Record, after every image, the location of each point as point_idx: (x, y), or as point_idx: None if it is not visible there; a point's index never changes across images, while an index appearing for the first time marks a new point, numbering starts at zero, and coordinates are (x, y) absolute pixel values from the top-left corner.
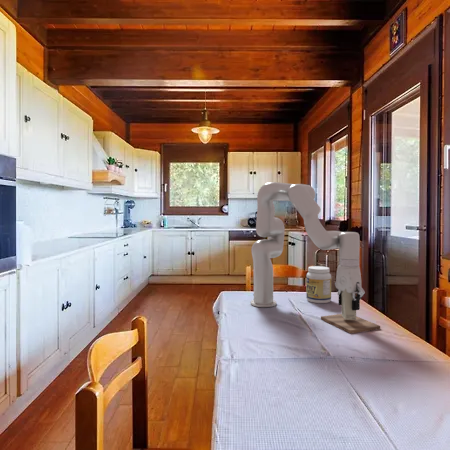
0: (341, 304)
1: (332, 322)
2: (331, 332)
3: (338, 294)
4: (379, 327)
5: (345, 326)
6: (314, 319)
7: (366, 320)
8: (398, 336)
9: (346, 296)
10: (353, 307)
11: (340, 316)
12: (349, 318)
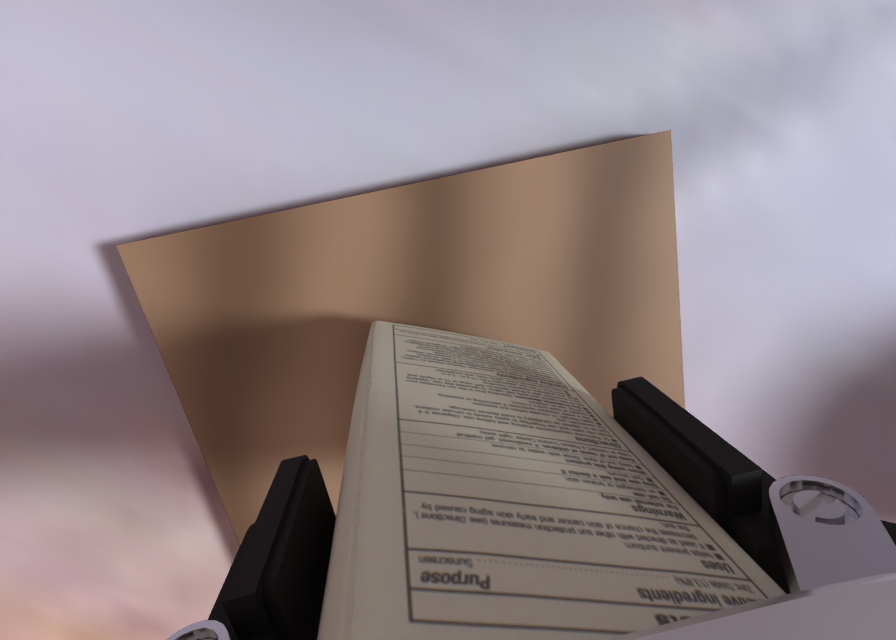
0: (617, 416)
1: (441, 178)
2: (181, 36)
3: (801, 485)
4: None
5: (260, 256)
6: (669, 51)
7: None
8: (72, 620)
9: (346, 557)
10: (274, 495)
11: (608, 360)
12: (360, 370)
